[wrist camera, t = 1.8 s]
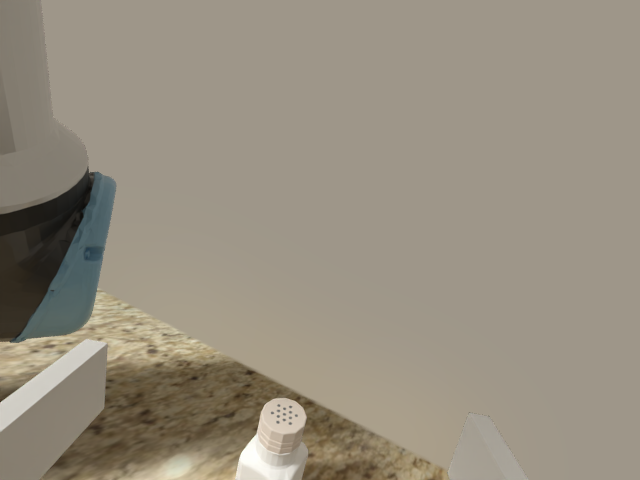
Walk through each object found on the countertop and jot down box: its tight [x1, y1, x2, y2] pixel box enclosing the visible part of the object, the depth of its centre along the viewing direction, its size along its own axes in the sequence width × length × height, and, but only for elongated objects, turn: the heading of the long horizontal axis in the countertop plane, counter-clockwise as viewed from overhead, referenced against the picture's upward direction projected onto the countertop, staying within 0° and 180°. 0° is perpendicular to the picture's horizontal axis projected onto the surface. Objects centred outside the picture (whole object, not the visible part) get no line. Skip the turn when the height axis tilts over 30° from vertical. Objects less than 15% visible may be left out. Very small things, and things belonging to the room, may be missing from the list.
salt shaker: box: [235, 398, 308, 480], centre depth 25 cm, size 4×4×10 cm
